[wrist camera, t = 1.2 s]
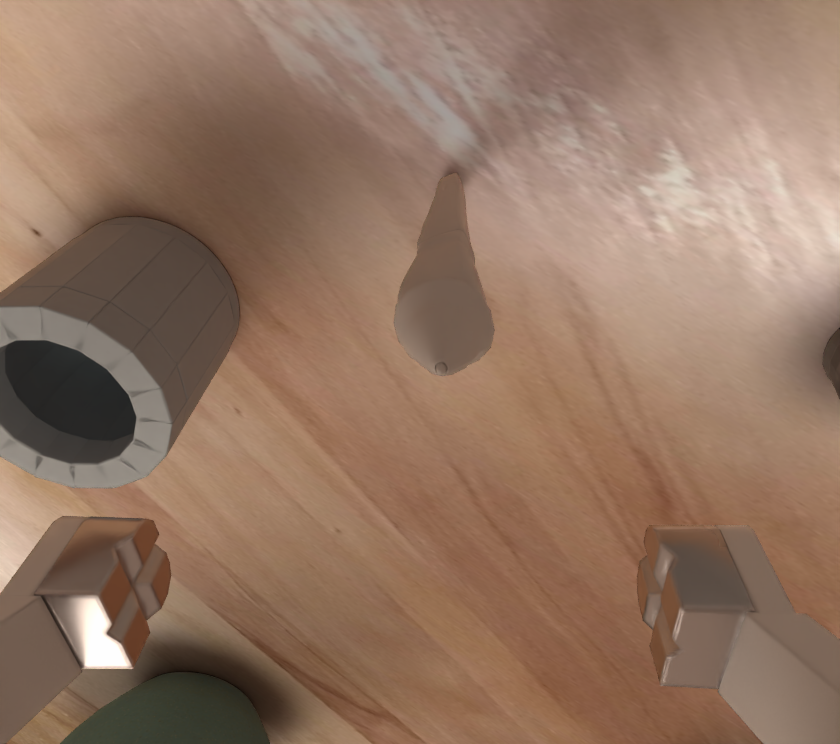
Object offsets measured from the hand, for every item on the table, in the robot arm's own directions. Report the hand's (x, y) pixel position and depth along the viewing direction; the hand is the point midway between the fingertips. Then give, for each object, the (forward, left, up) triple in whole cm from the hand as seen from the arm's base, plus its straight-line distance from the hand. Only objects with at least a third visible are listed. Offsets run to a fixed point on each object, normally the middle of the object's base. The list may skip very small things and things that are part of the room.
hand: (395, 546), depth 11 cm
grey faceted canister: (+5, -13, -19) cm, 24 cm away
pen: (0, +1, -19) cm, 19 cm away
